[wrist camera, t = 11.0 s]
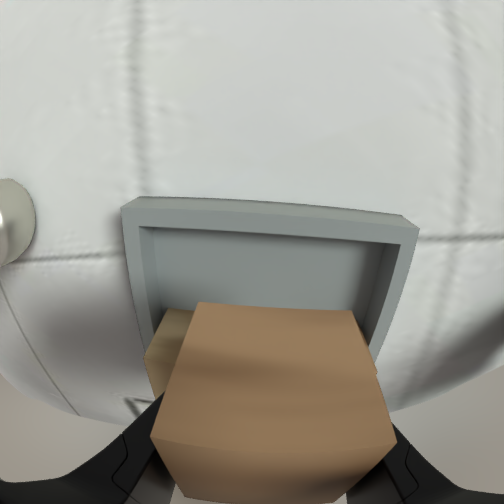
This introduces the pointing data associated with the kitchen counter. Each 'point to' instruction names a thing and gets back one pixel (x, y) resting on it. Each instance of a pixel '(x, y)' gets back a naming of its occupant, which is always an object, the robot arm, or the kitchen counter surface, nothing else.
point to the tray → (265, 258)
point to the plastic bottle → (14, 220)
